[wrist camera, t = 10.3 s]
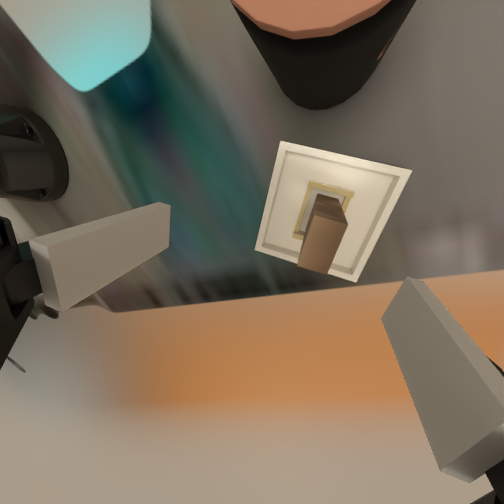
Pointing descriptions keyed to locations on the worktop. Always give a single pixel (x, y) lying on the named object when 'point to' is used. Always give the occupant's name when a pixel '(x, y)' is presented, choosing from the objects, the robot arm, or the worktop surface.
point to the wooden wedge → (322, 234)
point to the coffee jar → (322, 43)
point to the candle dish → (334, 185)
